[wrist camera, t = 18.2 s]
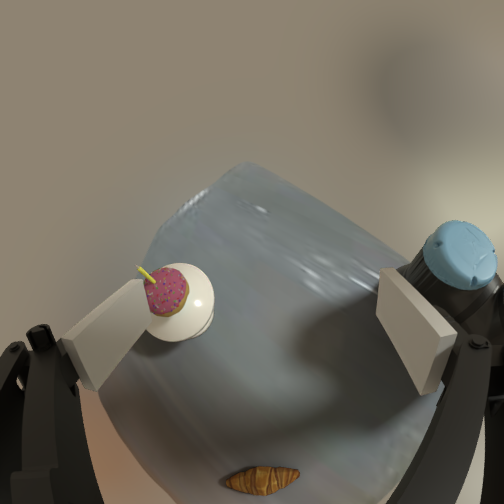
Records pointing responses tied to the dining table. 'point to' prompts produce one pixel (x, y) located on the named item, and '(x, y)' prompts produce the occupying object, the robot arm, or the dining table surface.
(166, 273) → the cupcake
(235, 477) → the croissant
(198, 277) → the cake stand
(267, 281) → the dining table surface
